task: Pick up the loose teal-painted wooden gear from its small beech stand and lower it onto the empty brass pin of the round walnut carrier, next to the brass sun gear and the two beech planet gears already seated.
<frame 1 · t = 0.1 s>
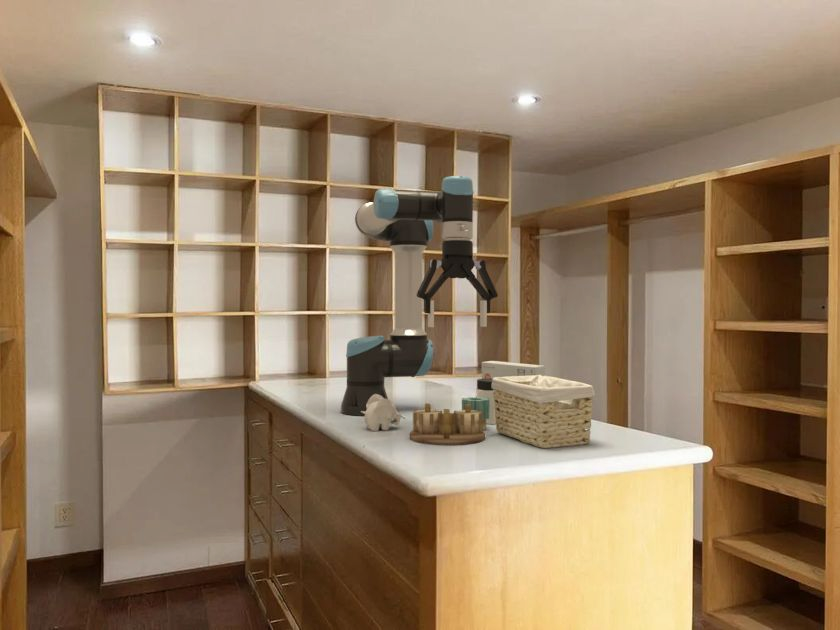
hand: (457, 327, 170), 28 cm above the countertop, fingers open, 13 cm apart
gear: (475, 417, 186), point 3 cm above the countertop, touching stand
jar: (491, 422, 197), on the countertop
skincare box: (512, 416, 207), on the countertop
storage basket: (540, 440, 172), on the countertop
carrier: (447, 437, 174), on the countertop
stand: (475, 428, 186), on the countertop
elephant figurine: (382, 429, 186), on the countertop
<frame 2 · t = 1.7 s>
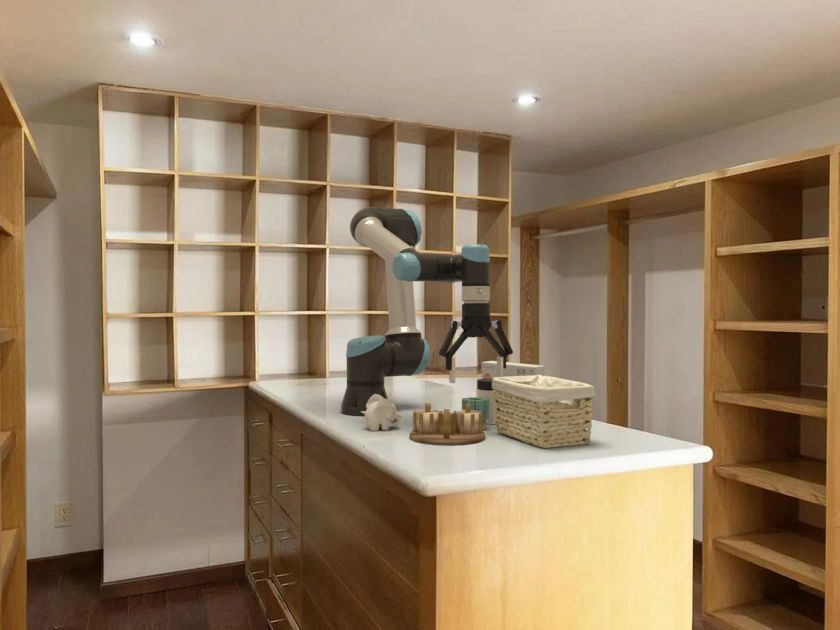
hand: (476, 382, 185), 13 cm above the countertop, fingers open, 13 cm apart
nothing on the countertop moved.
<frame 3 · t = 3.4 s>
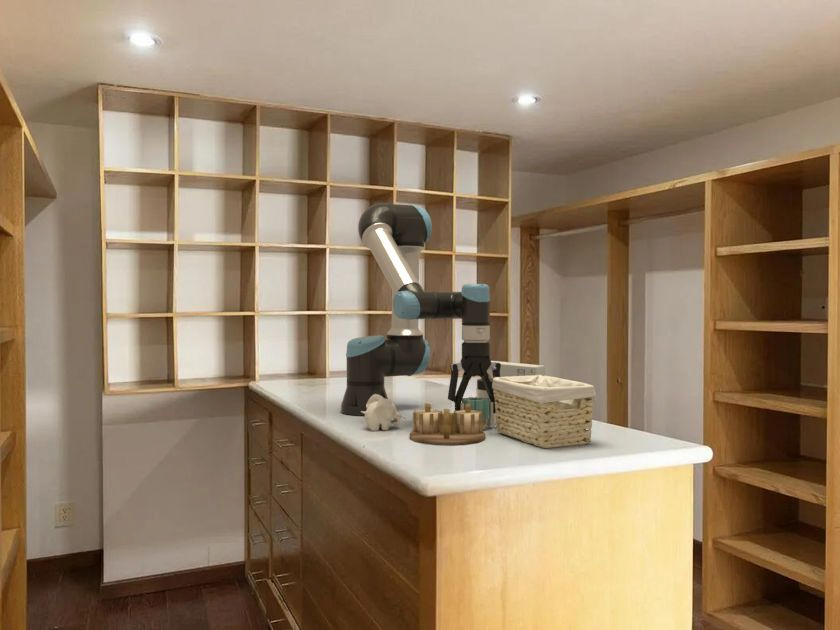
hand: (475, 426, 186), 1 cm above the countertop, fingers closed on gear, 8 cm apart
gear: (475, 417, 186), point 3 cm above the countertop, touching gripper, stand
everything else where it was.
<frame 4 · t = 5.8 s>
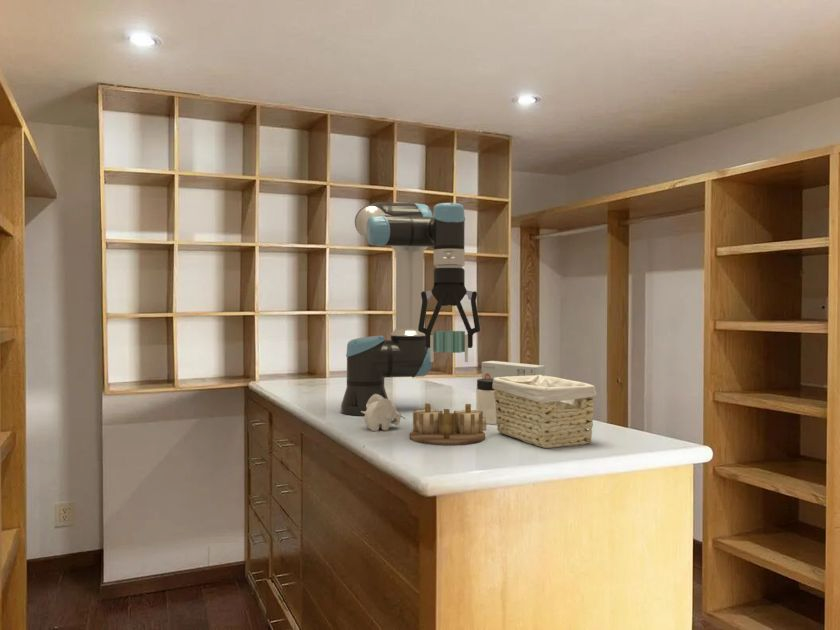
hand: (449, 361, 168), 20 cm above the countertop, fingers closed on gear, 8 cm apart
gear: (449, 351, 168), point 22 cm above the countertop, touching gripper
everything else where it was.
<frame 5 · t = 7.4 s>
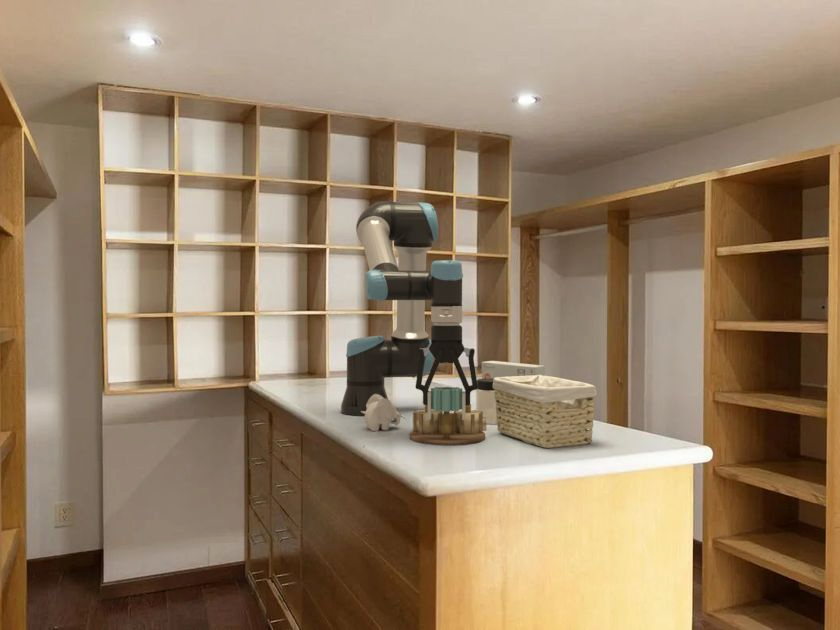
hand: (446, 418, 168), 6 cm above the countertop, fingers closed on gear, 8 cm apart
gear: (446, 409, 168), point 8 cm above the countertop, touching gripper
everything else where it was.
when the fingers open (2 cm above the countertop, at t = 8.6 s): gear drops 3 cm, resting on carrier.
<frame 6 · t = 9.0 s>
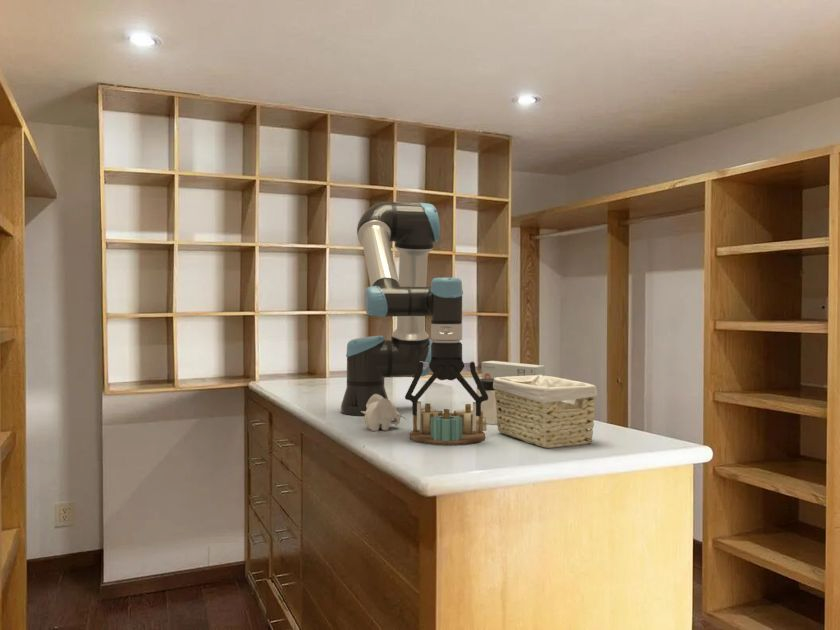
hand: (446, 429, 168), 3 cm above the countertop, fingers open, 13 cm apart
gear: (446, 438, 168), point 1 cm above the countertop, touching carrier
everything else where it was.
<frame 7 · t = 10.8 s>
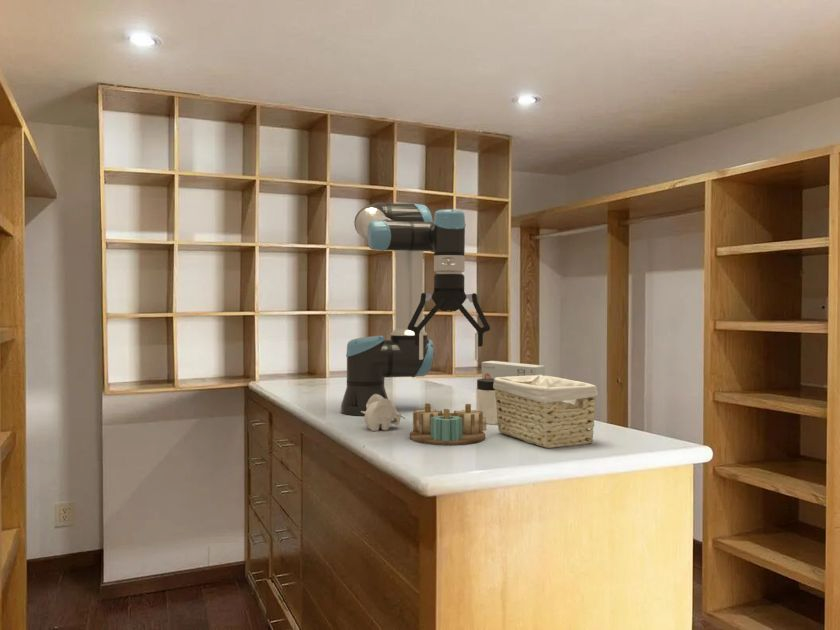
hand: (448, 359, 171), 20 cm above the countertop, fingers open, 13 cm apart
nothing on the countertop moved.
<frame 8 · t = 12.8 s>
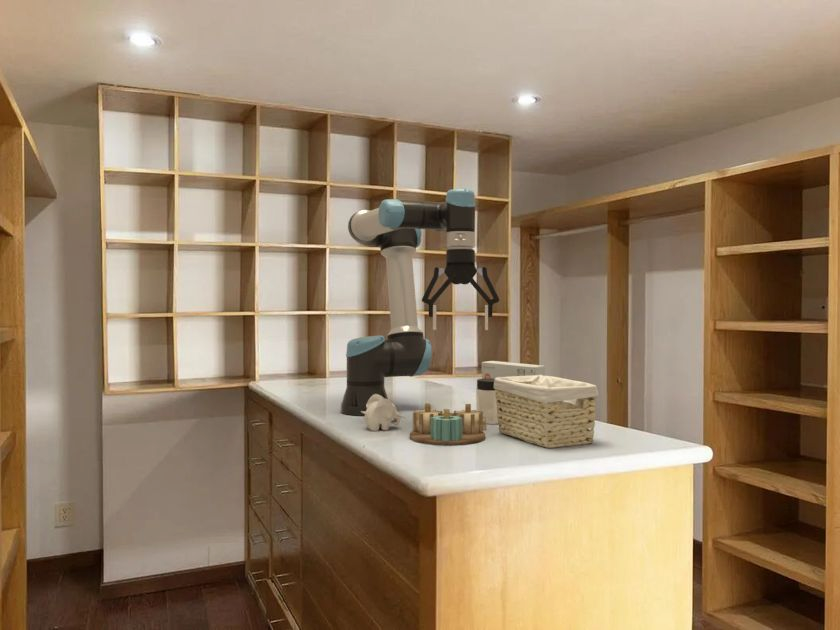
hand: (460, 329, 182), 27 cm above the countertop, fingers open, 13 cm apart
nothing on the countertop moved.
at the end: gear 0.0 cm from the target spot on the carrier, point 1.0 cm above the carrier's base; gear tilted 0°; the gripper is holding nothing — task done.
